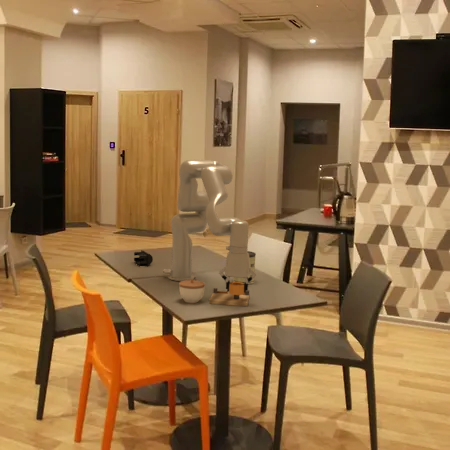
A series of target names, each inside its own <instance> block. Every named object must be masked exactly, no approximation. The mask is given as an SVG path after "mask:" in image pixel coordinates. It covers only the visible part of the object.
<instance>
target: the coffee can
mask: <svg viewBox="0 0 450 450" xmlns="http://www.w3.org/2000/svg"><path fill="white" fill-rule="evenodd" d="M247 253H249V259H250V268H251V269H252V270H253V271H254V273H255V274H256V272H255V271H256V252H253V251H249V250H247ZM251 276H252V274H251V273H249V276H248V278H249V277H251ZM232 282H242V283H245V280H244V278H239V277H233V281H232ZM254 283H255V277H254V278H253V279H252V280H251V281H250V282H249V283H248V285H251V284H254Z"/></svg>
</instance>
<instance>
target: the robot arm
mask: <svg viewBox="0 0 450 450" xmlns="http://www.w3.org/2000/svg"><path fill="white" fill-rule="evenodd" d="M178 174H179V186H178V193H177V201H176V205H177V209H178V211H180V212H181V213H177V214H175V215H173V216H172V218H171V219H170V225H171V226H170V228H171V232H172V235H171V236H172V246H171V247H172V249H171V250H172V251H171V252H172V253H171V254H172V255H171V268H169V269H167V268H163V270H162V274H166V275H167V274H169V275H168V276H167V277H168V279H169V280H171V281H176V282H181V281H186V280H191V279H193V280H195V275H194V274H192V267H193V240H192V238H191V237H190V235H189V234H194V233H195V234H196V233H197V234H198V233H202V232H204V231H205V230H206V228H207V226H208V229H209V231H210V232H211V234H212V235H214V236H217V237H221V236H229V245H228V246H225V250H228V252H227V255H226V260H225V267H223V268H222V269H221V270H220V271H218V274H219V276H220V277H222V279H223V280H224V281H225V290H227V292H228V293H229V283H230V282H231V280H230V279H231V278H234V277H239V278H244V280H245V283H244V293H246V290H249V284H248V283H249V282H250V281H251V280H252V279H253V278H254V279H255V277H256V276H257V274H256V272H255V273H254V271H253V270H252V269H251V268H250V259H249V253H247V251H249V250H248V249H249V247H248V246H249V245H248V244H249V243H248V242H249V225H250V224H249V222H248V221H246V220H243V219H242V220H241V219H240V218H239V217H234V216H233V217H218V215H217V211H216V207H217V206H218V205H220V204H222V203H224V202H225V201H226V200H227V199H228V197H229V193H228V192H227V189H226V186H225V185H230V184H231V182H233V181H232V180H233V172H232V170H231V168H230V167H229V166H228V165H226V164H224V163H221V162H220V161H217V160H213V159H189V160H184V161H183V162H181V164H180V166H179V171H178ZM197 179H199V180H200V179H201V181H202V183H203V186H204V189H205V191H206V192H205V191H198V188H199V187H198V186H199V183H198V180H197ZM182 212H183V213H182ZM184 212H185V213H184ZM249 273H251V274H252V276H251V277H249V278H248V276H249Z"/></svg>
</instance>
